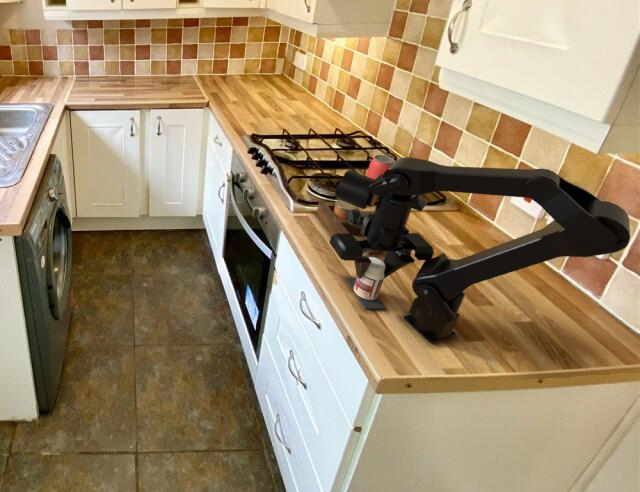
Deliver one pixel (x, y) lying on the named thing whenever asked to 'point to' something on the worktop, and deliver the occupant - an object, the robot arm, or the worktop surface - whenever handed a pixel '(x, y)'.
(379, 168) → the beer can
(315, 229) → the worktop surface
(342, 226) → the pod stand
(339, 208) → the orange brown jar
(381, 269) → the pill bottle
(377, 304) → the slate mat
